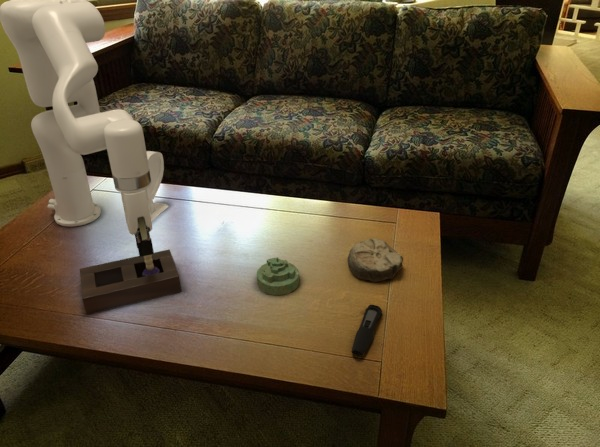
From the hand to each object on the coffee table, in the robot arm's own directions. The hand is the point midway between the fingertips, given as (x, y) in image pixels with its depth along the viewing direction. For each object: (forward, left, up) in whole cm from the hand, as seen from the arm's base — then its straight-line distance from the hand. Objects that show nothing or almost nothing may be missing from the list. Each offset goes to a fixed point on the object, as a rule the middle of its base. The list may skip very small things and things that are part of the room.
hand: (145, 250), depth 119 cm
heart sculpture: (-16, +30, -10) cm, 35 cm away
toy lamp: (0, 0, -7) cm, 7 cm away
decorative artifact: (+29, +7, -10) cm, 32 cm away
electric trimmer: (+52, -6, -10) cm, 54 cm away
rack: (-4, -3, -9) cm, 10 cm away
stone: (+51, +18, -10) cm, 55 cm away
